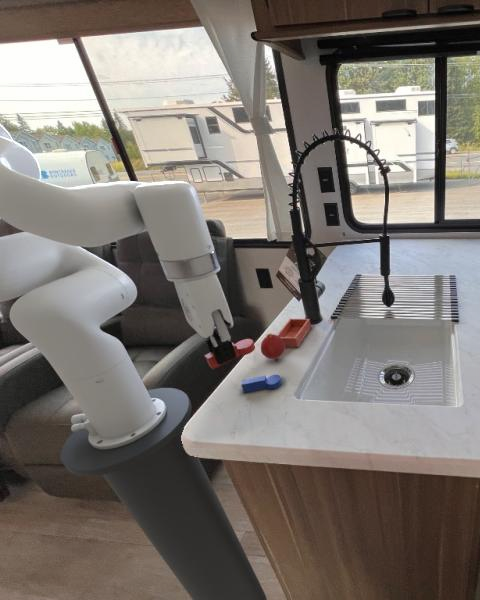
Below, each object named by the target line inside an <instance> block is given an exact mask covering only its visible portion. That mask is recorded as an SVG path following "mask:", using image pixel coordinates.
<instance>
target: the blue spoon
mask: <svg viewBox="0 0 480 600" xmlns="http://www.w3.org/2000/svg"><path fill="white" fill-rule="evenodd" d="M282 384H283V381H282V377H281V376H280V375H279V374H272V375H269V376H268V377H267V376H266V375H261V376H254V377H250V378H244V379H242V381H241V388H242V391H243V393H244V394H245V393H250V392H255V391H260V390H265V389H268V390H276V389H278V388H280V387H281V386H282Z"/></svg>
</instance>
